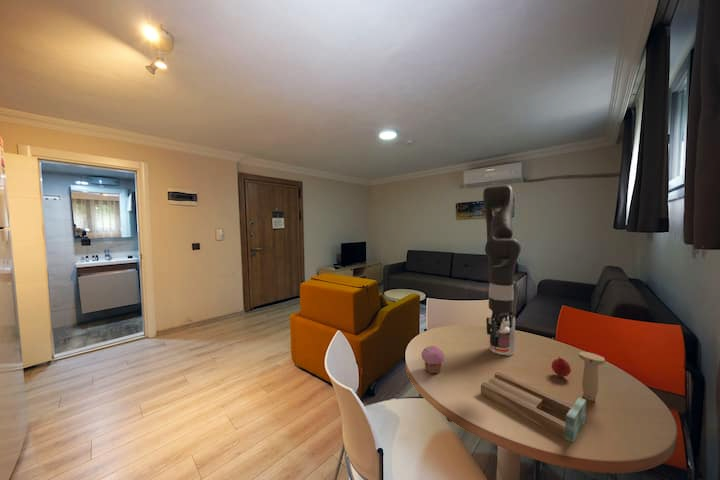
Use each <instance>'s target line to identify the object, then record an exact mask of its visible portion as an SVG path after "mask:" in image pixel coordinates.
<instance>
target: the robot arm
mask: <svg viewBox="0 0 720 480" xmlns="http://www.w3.org/2000/svg"><path fill="white" fill-rule="evenodd" d="M482 196H483V197H482V198H483V207H484V213H485V214H484V215H485V223H486V225H485V226H486V243H485V246H484V253H485V255H486V256H487V257H488V309H489V310H490V311H491V316H490V317H486V334H487V335H489V336H490V335H491V345H492V346H494V347H498V338H499V336H498V335H499V331H501V330H502V326H503V323H504V322H505V320H506V321H508V325H507V326H508V327H509V329H510V347H509V353H508V354H498V353H496V354H498V355H500V356H509V357H510V356H513V355H514V354H515V337H516V336H515V335H516V310H517V299H518V298H517V297H518V284H517V282H516V281H515V280H514V273H515V268H516V264H517V262H518V259H519V255H520V253H521V248H522V246H521V244H520V243H521V242H519V240H517V239H515V238H513V222H512V220H513V211H514V191H513V187H512V186H511V185H508V184H507V185H506V184H505V185H497V186H489V187H485V188H484V190H483V193H482ZM493 209H494V210H495V209H499V210H498V211H497V212H496V213H494V211H493ZM496 325H497V326H499V327H496ZM490 329H491V330H490ZM496 329H497V331H496Z"/></svg>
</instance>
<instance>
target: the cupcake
mask: <svg viewBox="0 0 720 480" xmlns="http://www.w3.org/2000/svg"><path fill="white" fill-rule="evenodd" d="M421 359H422V360H423V361H424V367H425V368H424V369H425V370H426V371H427V372H428V373H430V374H439V373H440V370H441V367H442V365H443V363H444V361H445V353H444V352H443V351H442V349H441V348H439V347H437V346H436V345H428V346H427V347H425V348H424V349H422V351H421Z"/></svg>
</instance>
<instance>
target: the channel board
mask: <svg viewBox="0 0 720 480" xmlns="http://www.w3.org/2000/svg"><path fill="white" fill-rule="evenodd" d="M480 394H481V395H483V396H484V397H486V398H488V399H490V400H492V401H494V402H496V403H497V404H499V405H502V406H503V407H505V408H507V409H508V410H510V411H512V412H514V413H516V414H518V415H520V416H522V417H524V418H525V419H528V420H529V421H530V422H533V423H535V424H537V425H538V426H540V427H542V428H544V429H546V430H547V431H550V432H551V433H553V434H555V435H556V436H559V437H560V438H562V439H564V440H566V441H567V442H568V441H569V443H573V444H574V441H575V439H576V438H577V436H578V435H579V432H580V431H581V430H582V428H583V427H584V424H585V423H586V411H587V399H586V398H584V397H583V398H582V397H581V396H578V398H577V399H576V400H575V402H574V403H573V404H571V403H569V402H566V401H564V400H562V399H560V398H557V397H555V396H553V395H550V394H548V393H547V392H545V391H542V390H539V389H537V388H536V387H533V386H530V385H528V384H526V383H523V382H522V381H519V380H517V379H515V378H513V377H510V376H508V375H506V374H504V373H502V372H500V371H496V372H495V373H494V376H493V377H491V378H490V379H489V380H488V381H486V382H485V381H483V382H481V384H480ZM543 407H545V408H547V409H549V410H551V411H552V412H555V413H558V414H559V415H562V417H563V416H564V417H565V421H563V420H561V419H559V418H558V417H555V416H553V415H551V414H550V413H547V412H545V411H544V410H541V409H542V408H543Z"/></svg>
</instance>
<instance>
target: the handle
mask: <svg viewBox="0 0 720 480" xmlns="http://www.w3.org/2000/svg"><path fill="white" fill-rule="evenodd" d="M578 355H579V356H578V357H579V358H580V360H582V361H584V367H583V373H582V374H583V375H582V382H581V385H582V386H581V387H582V392H583V393H582V397H583V399H585V400H586V401H589V402H590V401H593V402H595V401H596V399H597V398H596V397H597V394H598V391H599V390H598V389H599V365H605V362H606V359H605V357H604V356H601V355H599V354H597V353H592V352H589V351H580V352H579V353H578Z"/></svg>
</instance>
